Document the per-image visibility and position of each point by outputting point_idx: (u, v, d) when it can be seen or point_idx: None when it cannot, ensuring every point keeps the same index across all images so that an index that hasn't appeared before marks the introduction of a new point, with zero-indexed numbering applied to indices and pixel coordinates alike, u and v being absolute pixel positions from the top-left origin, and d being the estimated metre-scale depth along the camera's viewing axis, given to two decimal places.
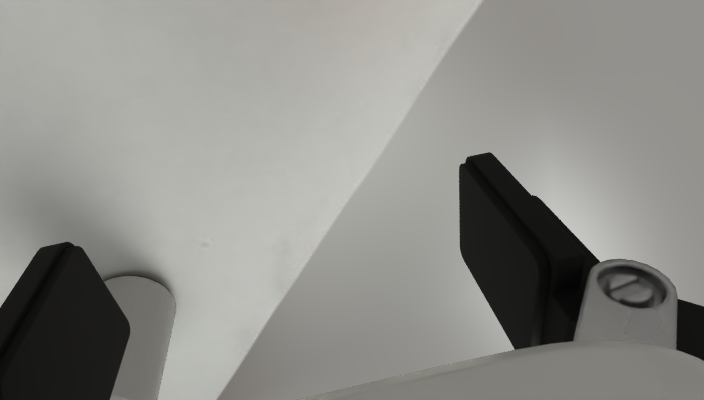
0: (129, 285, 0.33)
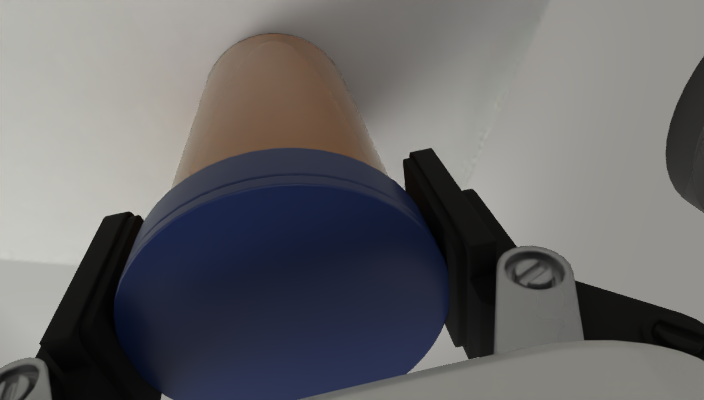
0: None
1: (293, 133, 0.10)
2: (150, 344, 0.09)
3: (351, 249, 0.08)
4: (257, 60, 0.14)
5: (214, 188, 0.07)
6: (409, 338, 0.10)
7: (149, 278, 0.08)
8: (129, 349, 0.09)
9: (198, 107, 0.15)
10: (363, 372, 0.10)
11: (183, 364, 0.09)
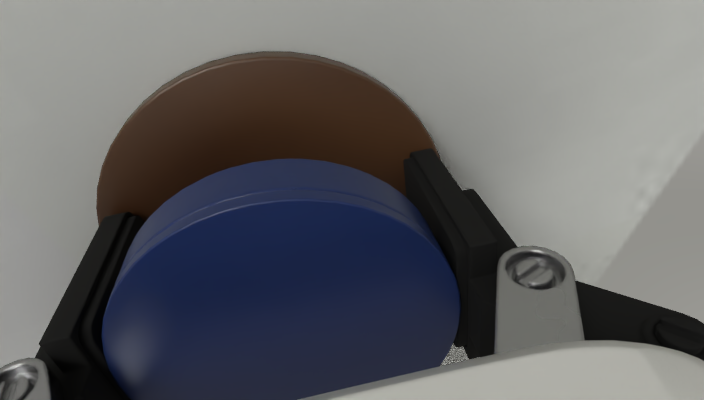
0: None
1: None
2: (433, 327, 0.09)
3: None
4: None
5: None
6: (145, 329, 0.08)
7: None
8: (453, 322, 0.09)
9: None
10: (197, 281, 0.07)
11: (413, 305, 0.08)
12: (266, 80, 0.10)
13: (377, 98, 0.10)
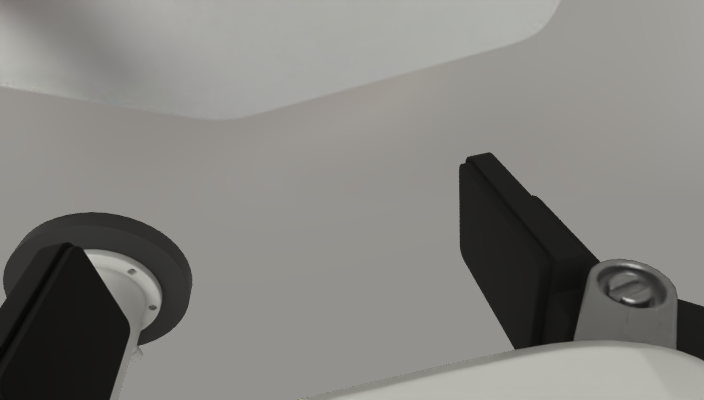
0: None
1: None
2: None
3: None
4: None
5: None
6: None
7: None
8: None
9: None
10: None
11: None
12: None
13: None
